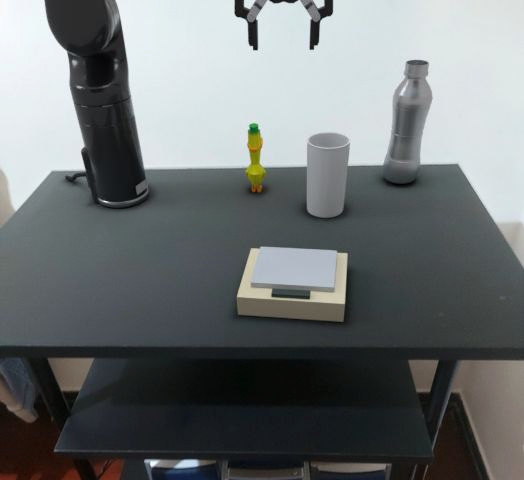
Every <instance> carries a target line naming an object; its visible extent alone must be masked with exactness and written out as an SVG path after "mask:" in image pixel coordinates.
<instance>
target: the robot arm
mask: <svg viewBox="0 0 524 480" xmlns="http://www.w3.org/2000/svg"><path fill="white" fill-rule="evenodd" d="M43 1H44V9H45V15H46V16H45V17H46V20H47V24H48V28H49V30H50V32H51V34H52V36H53V37H54V39H55V41H56V42H57V43H58V44H59V45H60V47H61V48H62V49H63V50H65V51H66V54H67V58H68V65H69V66H68V68H69V80H68V85H69V86H68V87H69V91H70V95H71V98H72V101H73V103H72V104H73V107H74V110H75V114H76V118H77V122H78V127H79V130H80V134H81V138H82V142H83V146H84V147H82V148H81V149H80V154H81V158H82V162H83V167H84V169H85V171H84V172H77V173H74V174H73V175H72V176H70V175H67V174H66V175H65V176H64V179H65V180H67V181H70V182H74V181H75V180H76V179H77V178H83V177H85V178H86V179H85V180H86V182H87V186H88V188H89V190H90V193H91V198H92V201H93V203H94V204H100V205H101V206H103V207H106V208H113V209H114V208H115V209H119V208H121V209H122V208H128V207H133V206H136V205H138V204H140V203H143V202H144V201H145V200H146V199H147V198H148V197H149V195H150V190H149V183H148V179H147V177H146V170H145V165H144V160H143V153H142V149H141V142H140V137H139V132H138V128H137V127H138V126H137V121H136V115H135V110H134V104H133V98H132V92H131V87H130V70H129V69H130V68H129V61H128V56H127V49H126V43H125V37H124V31H123V23H122V18H121V13H120V9H119V5H118V3H117V1H116V0H43ZM268 1H269V2H271V3H272V4H280V3H281V4H282V3H287V4H295V3H297V2H299V1H300V3H301V4H302V7H304V9H305V11H306V12H307V13H308V15H309V16H310V20H309V22H310V23H309V47H308V48H309V51H314V50H315V46H316V47H317V46H319V43H320V32H321V31H320V29H321V21H322V20H323V19H325V18H327V17H332V16H333V15H334V14H333V13H334V0H323V6H320V7H318V6H317V5H316V3H315V1H314V0H255V1H254V2H253V4H252V5H251V7H250V8H248V7H246V6H245V0H234V5H233V6H234V8H233V9H234V16H235V18H240V19H243V20H245V22H246V23H247V43H248V45H249V47H252V51H258V50H259V20H258V19H257V18H258V15H259V14H260V12H261V11H262V9H263V8H264V7H265V5H266V4H267V2H268Z"/></svg>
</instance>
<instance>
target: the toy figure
mask: <svg viewBox="0 0 524 480" xmlns="http://www.w3.org/2000/svg"><path fill="white" fill-rule="evenodd" d="M248 127H249V129H248V130H247V144H246V146H247V149H248V153H249V158H250V164H249V165H248V166H247V168H246V169H245V177H246V178H247V179H248V180H249V182H250V184H251V192H252V193H256V192H257V193H261V191H263V185H262V184H261V183H262V182H263V180H264V179H265V178H266V173H267V172H266V169H265V168H264V167H263V165H262V164H261V162H260V161H261V151H262V150H261V149H263V145H264V138H263V137H262V136H261V130H260V128H259V124H258V123H256V122H252V123H249V124H248Z"/></svg>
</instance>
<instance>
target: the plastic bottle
mask: <svg viewBox="0 0 524 480" xmlns="http://www.w3.org/2000/svg"><path fill="white" fill-rule="evenodd" d="M429 67H430V62H429V61H428V60H425V59H424V60H423V59H410V60H407V61H405V65H404V70H403V76H404V78H403V79H402V81H401V82H400V83H399V85H398V86H397V87H396V89H395V90H394V92H393V94H392V102H391V103H392V106H391V107H392V108H391V110H392V111H391V112H392V115H391V118H392V119H391V130H390V138H389V142H388V146H387V151H386V154H385V157H384V160H383V163H382V174H383V177H384V178H385V180H386V181H388V182H391V183H393V184H399V185H400V184H408V183H409V184H410V183H412V182H414V181H415V180H416V178H417V177H418V175H419V172H420V170H421V149H422V140H423V139H422V138H423V134H424V129H425V125H426V121H427V119H428V115H429V112H430V109H431V105H432V102H433V98H434V97H433V90H432V88H431V85H430V84H429V82H428V80H427V77H428V76H429Z"/></svg>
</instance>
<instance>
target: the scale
mask: <svg viewBox="0 0 524 480" xmlns="http://www.w3.org/2000/svg"><path fill="white" fill-rule="evenodd" d="M347 271H348V253H347V252H338V250H333V249H316V248H297V247H276V246H260V247H259V248H257V247H256V248H253V247H250V251H249V254H248V258H247V261H246V264H245V267H244V271H243V274H242V278H241V281H240V283H239V284H240V285H239V288H238V291H237V295H236V306H237V315H238V316H251V317H264V318H266V317H267V318H281V319H296V320H307V321H308V320H309V321H322V322H323V321H324V322H339V323H344V320H345V311H346V310H345V309H346V297H347V296H346V293H347V275H348V274H347V273H348V272H347Z"/></svg>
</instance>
